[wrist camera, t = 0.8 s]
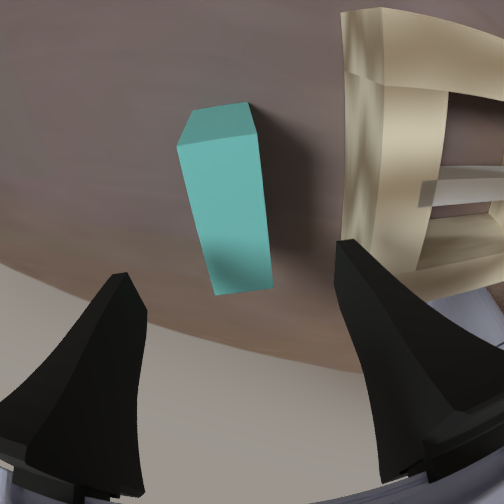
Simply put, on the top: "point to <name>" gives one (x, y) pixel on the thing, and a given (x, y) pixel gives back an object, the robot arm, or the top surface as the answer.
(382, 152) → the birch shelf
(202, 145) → the teal block
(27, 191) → the top surface
